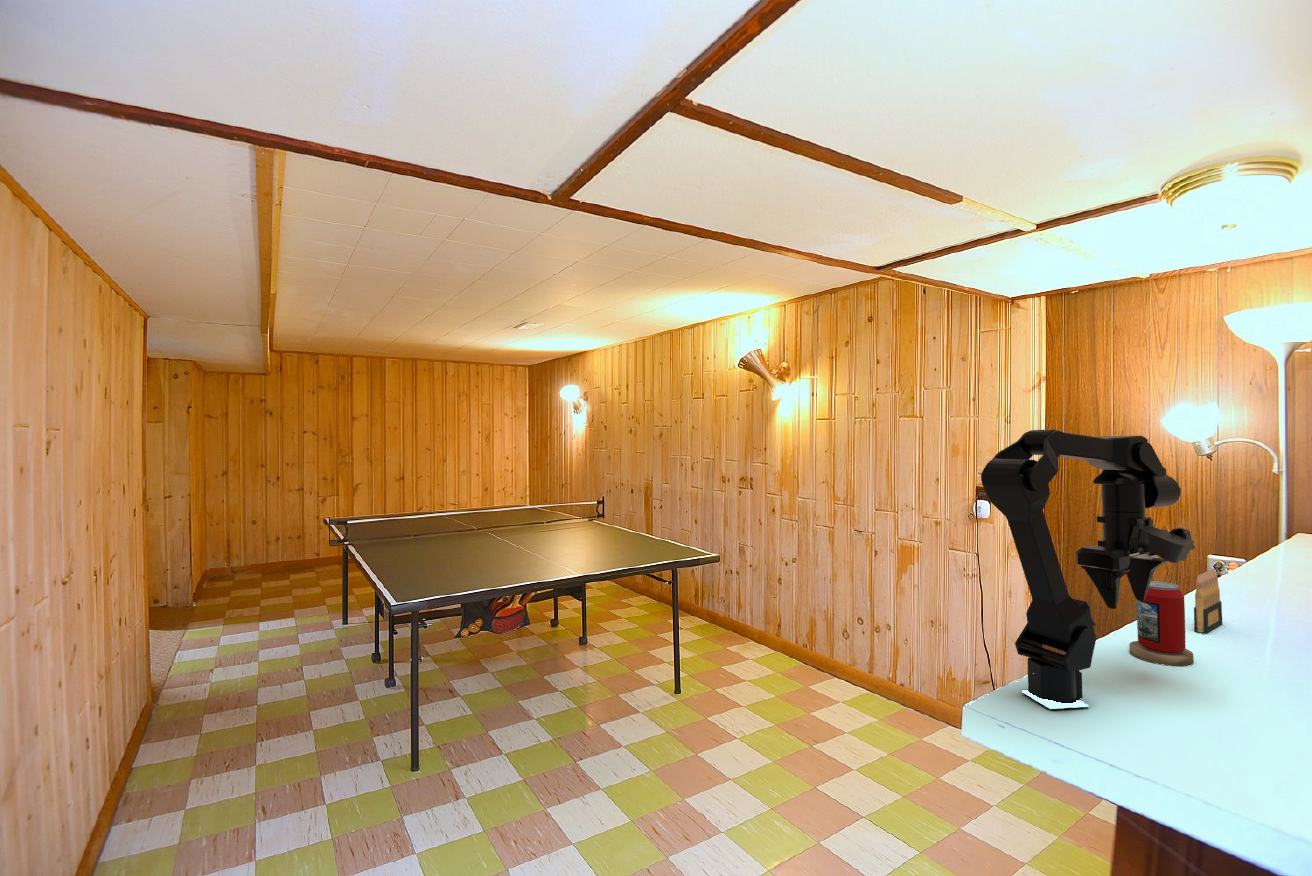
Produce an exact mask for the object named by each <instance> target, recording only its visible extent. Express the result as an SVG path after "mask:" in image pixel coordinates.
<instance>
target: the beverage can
mask: <svg viewBox="0 0 1312 876" xmlns="http://www.w3.org/2000/svg"><path fill="white" fill-rule="evenodd" d="M1185 605H1186V604H1185V595H1184V593H1183V592H1182V590H1181V589H1180V586H1179V585H1178V584H1176V583H1171V582H1167V581H1158V580H1151V582H1150V585H1149V588H1148V591H1147V594H1146V597H1145V600H1137V599H1136V626H1137V629H1136V630H1137V632H1136V633H1137V641H1138V643H1139V644H1141V645H1142V646H1144V647H1145V648H1146V649H1148V650H1151V651H1154V652H1158V653H1164V654H1177V653H1179V652H1182V651H1184V650H1185V649H1186V610H1185V609H1186V607H1185Z"/></svg>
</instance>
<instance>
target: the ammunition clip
mask: <svg viewBox="0 0 1312 876" xmlns="http://www.w3.org/2000/svg"><path fill="white" fill-rule="evenodd" d="M1218 580H1219V579H1218V573H1217V571H1216V569H1215V568H1212V569H1209V570H1207V571H1205V572H1204V573H1203V572H1201V574H1200V573H1199V574H1198V575H1197V578H1196V582H1195V583H1196V584H1195V594H1194V599H1195V601H1194V602H1195V603H1194V604H1195V605H1194V607H1193V620H1194V621H1193V622H1194V623H1193V625H1194V626H1193V627H1194V633H1197V634H1201V635H1203V634H1204V635H1208V634H1210V633H1211V632H1213V631H1214V630H1216V629H1218V628H1220V627H1221V626H1223V607H1222V605H1223V604H1222V601H1221V595H1220V594H1221V593H1220V587H1219V581H1218Z"/></svg>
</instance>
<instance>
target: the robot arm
mask: <svg viewBox="0 0 1312 876" xmlns="http://www.w3.org/2000/svg"><path fill="white" fill-rule="evenodd" d="M1148 441H1149V440H1148V438H1146V437H1145V436H1143V435H1104V436H1102V435H1101V436H1091V435H1084V434H1080V433H1079V434H1077V433H1071V432H1064V431H1060V430H1057V429H1031V430H1028V431H1026V432H1024V433H1023V434H1022V435H1021V436H1020V437H1019V438H1018V439H1017V441H1015V442H1013V443H1011V444H1010V445H1008V446H1007V447H1004V448H1003V449H1001V450H1000V451H999V452H997V453H996V454H995V455H994V456H993V457H992V458H991V460H990V461H988V462H987V463H986V465H985V466H984V468H983V470H982V471H981V473H980V480H981V481H980V482H981V485H982V488H983V489H984V491H985V494H986V495H987V498H988V500H989V501H990V503H991V504H992V505H993V506H994V507H995V508H996V509H997V510H998V511H1000V513H1001V514H1002V515H1004V517H1005V518H1006V521H1007V523H1008V527H1009V530H1010V532H1011V537H1012V539H1013V543H1014V546H1015V549H1016V552H1017V555H1018V558H1019V562H1020V564H1021V567H1022V571H1023V575H1024V577H1025V580H1026V583H1027V587H1028V590H1029V593H1030V597H1031V601H1030V603H1029V605H1028V608H1027V610H1026V613H1025V615H1026V621H1027V622H1026V624H1025V626H1024V627H1023V629H1022V631H1021V632H1020V634H1019V636H1018V637H1017V638H1016V641H1015V643H1014V645H1015V649H1016V652H1017V654H1018V655H1019V656H1024V657H1027V658H1026V659H1027V660H1026V661H1027V685H1028V686H1027V689H1028V691H1029V692H1030V693H1032V694H1033V695H1036V696H1037V697H1039V698H1042V699H1048V700H1053V701H1056V702H1061V703H1073V702H1076V700H1079V699H1080V698H1082V699H1083V698H1084V697H1083V696H1084V695H1083V673H1082V672H1081V671H1083V670H1086V669H1090V668H1091V666H1092V665H1091V664H1092V661H1093V656H1094V651H1095V647H1096V646H1095V645H1096V641H1097V640H1096V639H1097V635H1096V633H1095V632H1096V631H1095V627H1096V623H1095V621H1094V619H1093V618H1092V613H1091V608H1090V606H1089V604H1088V603H1087V601H1085V600H1081V599H1076V598H1073V597H1072V596H1071V595H1070V594H1069V591H1068V588H1067V585H1066V582H1065V578H1064V575H1063V571H1062V568H1061V565H1060V562H1059V558H1058V556H1057V552H1056V549H1055V546H1054V541H1053V540H1052V539H1053V538H1052V535H1051V532H1050V529H1049V526H1048V523H1047V519H1046V515H1045V511H1044V509H1045V507H1046V505H1047V503H1048V500H1049V497H1050V494H1051V491H1050V484H1049V483H1050V482H1051V481H1052V480H1053V479H1054V477H1055V476H1056V475H1057V473H1058V472H1059V458H1067V459H1074V460H1083V461H1086V462H1087V464H1088V465H1090V466H1092V467H1095V468H1097V469H1100V470H1102V471H1101V472H1100V473H1099V475H1097V476H1096V477H1094V479H1093V480H1092V482H1093V484H1094V485H1100V491H1101V492H1100V493H1101V494H1100V495H1101V515H1096V522H1097V523H1101V524H1102V539H1097V545H1093V544H1092V545H1088V546H1087V545H1086V546H1083V547H1080V548H1079V549H1078V550H1076V551H1075V564H1076V565H1080V568H1081V569H1083V570H1084V571H1085V573H1086V574H1087V576H1088V577H1089V579H1090V580H1091V581H1092V583H1093V585H1094V587H1096V590H1097V591H1098V593H1099V594H1100V596H1101V598H1102V599H1103V601H1104V603H1105V605H1106V607H1107V608H1108V609H1112V610H1116V609H1117V608H1118V603H1119V595H1120V586H1121V578H1123V577H1124V576H1125V575H1126V577H1127V579H1128V583H1129V585H1130V588H1131V590H1132V593H1133V595H1134V598H1135V600H1136V601H1137V600H1145V597H1146V594H1147V591H1148V588H1149V585H1150V582H1151V581H1152V578H1153V575H1154V574H1155V571H1156V569H1158V568H1159V567H1161V566H1163V565H1164V564H1165V563H1168V562H1169V563H1172V564H1173V563H1174V564H1176V563H1177V564H1178V563H1179V562H1180V561H1183V562H1185V561H1186V559H1187V557H1188V556H1189V553H1190V551H1194V550H1195V548H1196V547H1195V544H1194V543H1195V540H1193V538H1192V534H1191V530H1189V529H1187V528H1183V527H1180V526H1179V527H1175V528H1172V530H1169V531H1168V530H1167V529H1160V528H1158V527H1155V525H1154V519H1152V517H1151V516H1146V509H1152V508H1163V507H1170V506H1173V505H1175V504H1176V503H1177V502H1178V500H1179V499H1180V497H1181V493H1182V492H1181V491H1182V490H1181V487H1180V486H1179V483H1178V482H1177V481H1176V479H1174V478H1173V477H1172V476H1171V475H1170V476H1169V475H1168V474H1167V468H1166V467H1164V466H1163V464H1162V463H1161V460H1160V458H1159V457H1158V454H1157V453H1156V451H1155V449H1154V447H1153V446H1152V444H1151V443H1150V442H1148ZM1033 456H1040V457H1039V459H1038V460H1035V459H1031V458H1032V457H1033ZM1043 646H1046V647H1049V648H1052V649H1055V650H1058V651H1061V652H1064V653H1065V654H1062V653H1059V652H1056V651H1053V650H1050V649H1047V648H1044V647H1043ZM1033 673H1034V674H1033ZM1080 700H1081V699H1080Z"/></svg>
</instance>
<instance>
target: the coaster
mask: <svg viewBox="0 0 1312 876" xmlns="http://www.w3.org/2000/svg"><path fill="white" fill-rule="evenodd" d="M1128 647H1129V651H1128V652H1129V654H1130V655H1131V656H1133V657H1134V658H1136V659H1139V660H1141V661H1144V662H1148V663H1152V664H1156V663H1158V664H1157V665H1161V664H1164V665H1163V666H1168V665H1171V666H1170V667H1187V666H1188V665H1190V666H1192V665H1194V653H1193V651H1191V650H1190V649H1188V648H1185V650H1184V651H1182V652H1179V653H1177V654H1164V653H1158V652H1154V651H1151V650H1148V649H1146V648H1145V647H1144V646H1142V645H1141V644H1139V643H1138V640H1135V641H1131V642H1130V643H1128ZM1188 667H1189V666H1188Z"/></svg>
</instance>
